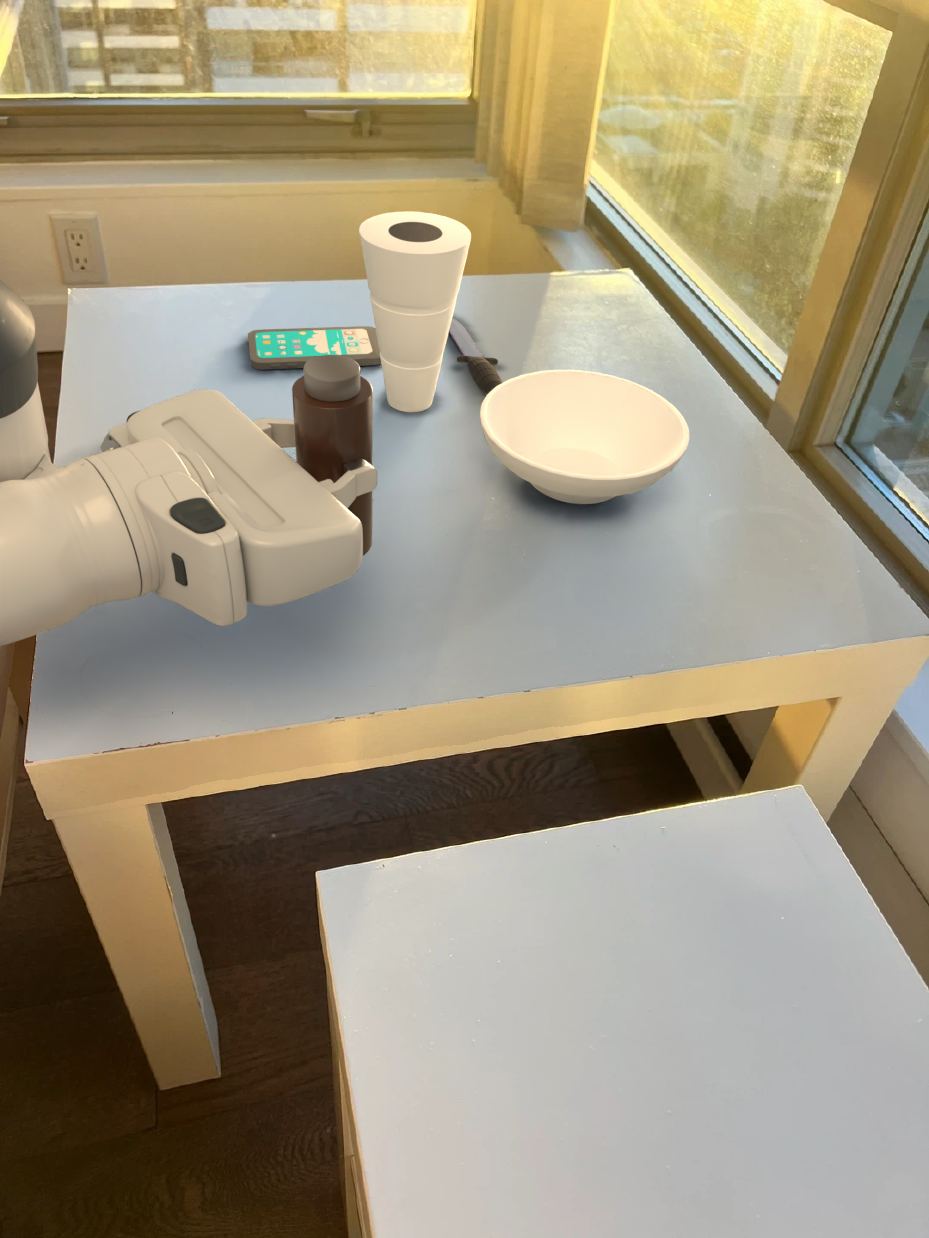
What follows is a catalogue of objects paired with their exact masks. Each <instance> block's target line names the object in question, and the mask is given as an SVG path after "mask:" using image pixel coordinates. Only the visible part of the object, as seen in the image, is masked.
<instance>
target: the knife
mask: <svg viewBox="0 0 929 1238" xmlns="http://www.w3.org/2000/svg"><path fill="white" fill-rule="evenodd" d="M448 334H449V335H450V337H451V338H452V339H453V341H454V342H455V345H456V346H457V347H458V349H459V351H460V352H461V354H462V355H458V356H456V359H455V361H456V362H458V363H462V364H467V368H469V371H470V374H471V377H472V378H473V380H474V381H475V382H476V384H477V385H478V386H479V387H480V389H481V390H482V392H484V393H485V395H487V394H488V393H489V392H491V391H492V390H493V389H494V388H495V387H496V386H498V385H500V384H502V383H503V381H502V379H501V377H500V375H499V373H498V371H497V369H496V368H495V366H498V364H499V360H498V359H497V358H495V357H487V356H485V355H484V354H482V352H481V350H479V348H478V347H477V344H475V341H474V340H473V338H472V337H471V335H470V333H469V332H468V330H467V329H466V328H465V326H464V325H463V324H462V323H460V321H458V320H457V319H455V318H453V317H452V320H451V324H450V329H449V333H448Z"/></svg>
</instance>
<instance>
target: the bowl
mask: <svg viewBox="0 0 929 1238" xmlns="http://www.w3.org/2000/svg"><path fill="white" fill-rule="evenodd" d="M479 418H480V424H481V430H482V432H483V435H484V438H485V441H486V442H487V443H488V446H489V447H490V449H491V451H492V453H493V454H494V455H495V456H496V458H497V459H498V460H499V461H500V462H501V464H502V465H504V466H505V468H506V469H508V470H509V471H510V472H512V473H513V474H515V475H516V476H518V477H519V478H521V479H523V480H524V481H527V482H528V483H530V484H531V485H532V486H533V488H535V489H536V490H537V491H539V492H540V493H541V494H543V495H544V496H547V497H549V498H552V499H554V500H556V501H560V502H564V503H568V504H575V505H592V504H593V505H594V504H600V503H604V502H607V501H609V500H611V499H614V498H615V497H617V496H619V497H620V496H625V495H628V494H633V493H637V492H640V491H641V490H644V489H646V488H648V487H651V486H652V485H654V484H655V483H657V482H659V480H661V479H662V478H664V477H665V476H666V475H668V474H669V473H671V472H672V471H673V469H674V468H675V467H676V466H677V464H678V463H679V462H680V460H681V459H682V458H683V456H684V454H685V453H686V452H687V449H688V447H689V441H690V430H689V429H690V428H689V426H688V424H687V422H686V419H685V418H684V416H683V414H681V412H680V411H679V409H677V408H676V406H675V405H673V404H672V403H670V401H668V400H667V399H666V398H665V397H663V396H661V395H660V394H659V393H657V392H655V391H653V390H651V389H650V388H648V387H646V386H643V385H641V384H638V383H636V382H634V381H632V380H628V379H624V378H622V377H618V376H615V375H610V374H606V373H601V372H596V371H587V370H579V369H551V370H539V371H536V372H529V373H525V374H521V375H518V376H515V377H512V378H509V379H507V380H505V381H504V382H503V381H502V384H500V385H498V386H496V387H495V388H494V389H493V390H492V391H491V392H489V393H488V394H486V396H485V397H484V399H483V401H482V402H481V405H480V411H479Z"/></svg>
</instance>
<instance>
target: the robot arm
mask: <svg viewBox="0 0 929 1238" xmlns="http://www.w3.org/2000/svg"><path fill="white" fill-rule="evenodd" d="M36 335H37V334H36V322H35V318H34V315H33V313H32V310H31V309H30V307H29V306H28V304H27V303H26V302H25V300H24V299H23V298H22V296H20V295H19V293H18V292H16V291H15V290H14V289H13V288H12V287H11V286H9V285H7V284H6V282H4V281H3V280H2V279H0V647H4V646H6V645H10V644H13V643H17V642H19V641H22V640H25V639H28V638H31V637H34V636H36V635H40V634H43V633H45V632H47V631H51V630H54V629H55V628H58V627H61V626H63V625H66V624H68V623H70V622H72V621H73V620H74V619H76V618H77V617H78V616H79V615H81V614H83V613H84V612H85V611H88V610H89V609H91V608H93V607H95V606H96V607H97V606H98V605H101V604H105V603H109V602H118V601H119V602H121V601H129V600H132V599H137V598H138V597H141V596H144V595H147V594H150V593H153V592H154V593H155V594H156V595H157V596H158V597H160V598H162V599H165V600H167V601H171V602H173V603H175V604H177V605H178V606H179V605H180V606H181V607H183V608H185V609H187V610H189V611H191V612H192V613H194V614H196V615H198V616H200V617H201V618H202V619H204V620H207V621H208V622H209V623H211V624H213V625H216V626H221V627H226V626H229V625H233V624H235V623H238V622H240V621H242V620H243V619H244V618H245V617H247V614H248V603H250V604H251V605H255V606H260V607H275V606H280V605H284V604H288V603H291V602H294V601H296V600H299V599H302V598H305V597H308V596H311V595H313V594H316V593H318V592H321V591H323V590H326V589H328V588H330V587H334V586H335V585H338V584H339V583H342V582H344V581H346V580H349V579H350V578H351V577H353V576H354V575H355V574H356V573H357V571H358V569H359V568H360V566H361V563H362V562H363V557H364V556H363V530H362V524H361V521H360V520H359V519H358V518H357V517H356V516H355V515H354V514H353V513H351V512H350V511H349V510H348V507H349V506H350V505H351V504H352V502H353V501H354V500H355V499H356V497H357V496H360V495H362V494H365V493H368V492H370V491H372V492H373V491H374V490H375V489H376V488H377V486H378V469H376V468H375V467H374V466H373V464H372V465H370V464H369V463H368V462H367V461H365V460H364V459H359V460H356V462H349V463H346V464H343V474H344V475H343V476H342V477H341V478H340V479H339V480H338V481H337V482H335V483H333V481H332V480H331V479H327V480H324V481H321V482H318V481H316V480H315V479H314V478H313V477H312V476H311V475H310V474H309V473H308V472H307V471H306V470H304V469H303V468H302V467H301V466H300V465H299V464H298V463H297V462H296V460H295V459H294V458H293V457H292V456H291V455H290V454H288V453H287V452H286V451H285V450H284V449H286V448H295V431H294V419H286V418H285V419H284V418H272V417H271V418H270V417H269V418H268V417H262V418H258V419H255V420H251V419H250V418H249V417H248V416H247V415H246V414H245V413H244V412H242V411H241V410H240V409H239V408H238V407H237V406H236V405H235V404H234V403H233V402H232V401H231V400H229V398H227V397H226V396H225V395H224V394H223V393H222V392H221V391H219V390H217V389H206V388H205V389H200V388H199V389H195V390H191V391H188V392H184V393H182V394H179V395H176V396H174V397H173V396H172V397H170V398H167V399H165V400H162V401H160V402H157V403H155V404H152V405H150V406H147V407H145V408H142V409H141V410H138V411H139V412H137V411H136V412H137V413H135V414H133V415H132V416H131V417H130V418H129V419H128V421H127V420H126V421H127V422H126V423H122V424H120V425H116V426H114V427H112V428H110V429H109V430H108V433H107V434H106V435H105V436H104V438H103V440H102V443H101V444H100V450H101V452H99V453H95V454H93V455H89V456H85V457H82V458H79V459H78V458H77V459H76V460H74V461H71V462H70V463H68V464H67V465H65V466H64V467H58V466H56V465H55V464H53V463H52V460H51V454H50V449H49V434H48V430H47V424H46V419H45V418H46V417H45V413H44V408H43V401H42V398H41V391H40V386H39V382H38V381H39V363H38V350H37V349H38V348H37V347H38V346H37V336H36Z"/></svg>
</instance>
